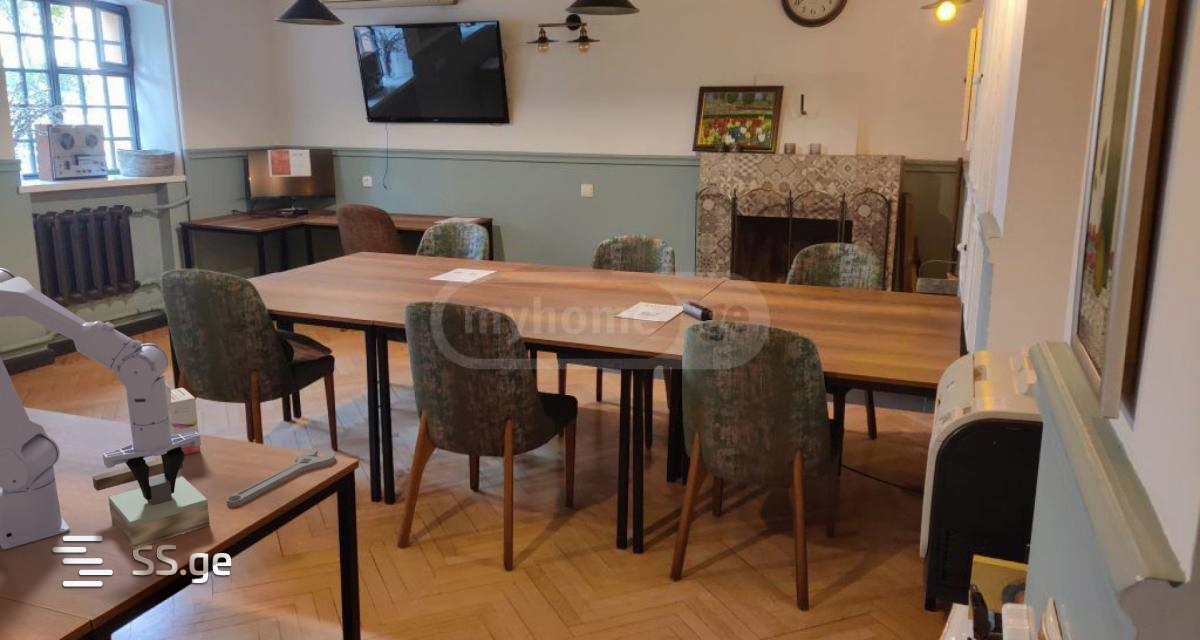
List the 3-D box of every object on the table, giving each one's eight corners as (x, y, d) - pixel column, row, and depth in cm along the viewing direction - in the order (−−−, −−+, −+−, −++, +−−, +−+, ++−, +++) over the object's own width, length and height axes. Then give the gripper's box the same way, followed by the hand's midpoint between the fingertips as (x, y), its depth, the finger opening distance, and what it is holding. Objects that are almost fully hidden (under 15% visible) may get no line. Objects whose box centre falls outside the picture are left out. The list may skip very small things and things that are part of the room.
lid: (131, 533, 139) (127, 501, 138) (109, 507, 147) (105, 477, 146) (208, 510, 147) (205, 480, 146) (183, 486, 155) (180, 458, 154)
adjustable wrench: (234, 510, 154) (233, 501, 154) (211, 502, 157) (210, 493, 157) (340, 461, 175) (339, 453, 175) (317, 454, 178) (317, 446, 178)
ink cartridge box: (202, 451, 178) (195, 383, 174) (176, 457, 174) (168, 388, 171) (189, 438, 184) (181, 373, 180) (163, 444, 181) (156, 377, 177)
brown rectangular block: (97, 490, 148) (95, 480, 148) (93, 487, 149) (92, 476, 149) (182, 468, 157) (181, 458, 157) (179, 464, 159) (177, 454, 158)
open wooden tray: (133, 549, 140) (130, 527, 139) (111, 522, 148) (108, 501, 147) (209, 525, 148) (207, 504, 147) (185, 501, 156) (182, 481, 155)
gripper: (108, 437, 135) (118, 516, 138) (204, 415, 144) (211, 489, 148) (95, 424, 140) (106, 501, 143) (189, 404, 149) (196, 476, 153)
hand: (158, 494), depth 146 cm, fingers closed on lid, 3 cm apart
